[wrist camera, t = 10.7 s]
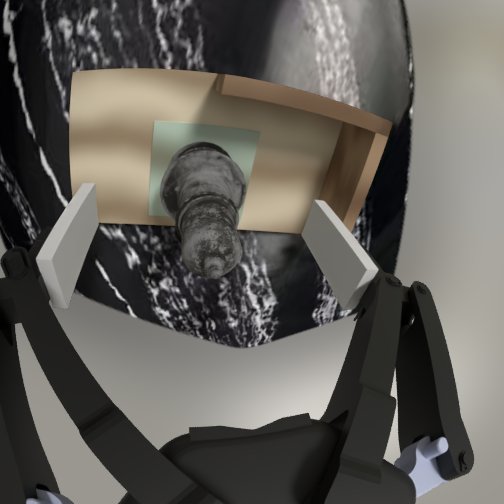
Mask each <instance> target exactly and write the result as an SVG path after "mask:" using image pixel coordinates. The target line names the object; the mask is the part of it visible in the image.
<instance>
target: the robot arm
mask: <svg viewBox="0 0 504 504" xmlns="http://www.w3.org/2000/svg"><path fill="white" fill-rule="evenodd" d="M98 225H99V223H98V213H97V201H96V186H95V183H83V184H82V186H81V187H80V188H79V190H78V191H77V193H76V194H75V195H74V197H73V198H72V200H71V201H70V203H69V204H68V206H67V207H66V209H65V210H64V212H63V213H62V215H61V216H60V218H59V219H58V221H57V223H56V224H55V226H54V227H46V228H45V229H44V230H43V231H42V232H40V234H39V236H38V237H37V239H36V241H35V242H34V244H33V246H32V247H31V249H30V251H29V252H28V253H27V250H26V249H25V248H23V247H14V248H11V249H10V250H8V251H6V252H5V254H4V255H3V256H2V258H1V263H0V264H1V266H2V269H3V271H4V273H5V276H6V277H5V278H0V504H74V503H73V502H72V501H71V500H69V499H68V498H67V497H65V496H63V495H61V494H60V491H59V488H58V485H57V482H56V479H55V477H54V474H53V472H52V469H51V467H50V464H49V462H48V460H47V457H46V455H45V452H44V450H43V447H42V444H41V442H40V439H39V436H38V433H37V431H36V427H35V424H34V421H33V417H32V414H31V411H30V407H29V404H28V400H27V396H26V391H25V387H24V383H23V378H22V374H21V368H20V362H19V356H18V349H17V341H16V334H15V324H17V323H22V326H23V328H24V330H25V333H26V335H27V338H28V340H29V342H30V345H31V347H32V349H33V351H34V353H35V355H36V358H37V360H38V362H39V364H40V366H41V368H42V369H43V371H44V373H45V375H46V377H47V379H48V381H49V383H50V385H51V386H52V388H53V390H54V392H55V393H56V395H57V397H58V398H59V400H60V401H61V403H62V405H63V406H64V408H65V409H66V411H67V413H68V414H69V416H70V417H71V419H72V420H73V422H74V423H75V425H76V426H77V428H78V429H79V432H80V435H81V436H82V438H83V440H84V441H85V443H86V444H87V445H88V447H89V448H90V449H91V450H92V452H93V453H94V454H95V456H96V457H97V458H98V459H99V460H100V462H101V463H102V464H103V465H104V466H105V467H106V469H107V470H108V471H109V472H110V473H111V474H112V475H113V476H114V478H115V479H116V480H117V481H118V482H119V483H120V484H121V485H122V486H123V487H124V488H125V489H126V490H127V491H128V492H127V493H126V494H125V496H124V497H123V498H122V499H121V501H120V502H119V503H118V504H415V502H416V498H417V497H419V496H421V495H422V494H424V493H426V492H428V491H429V490H431V489H433V488H434V487H436V486H438V485H440V484H443V483H445V482H448V481H451V480H453V479H455V478H458V477H460V476H463V475H465V474H467V473H469V472H470V470H471V469H472V467H473V464H474V454H473V450H472V447H471V445H470V441H469V438H468V435H467V432H466V429H465V427H464V424H463V421H462V418H461V414H460V407H459V401H458V395H457V389H456V383H455V378H454V374H453V369H452V364H451V360H450V356H449V352H448V348H447V344H446V340H445V336H444V333H443V329H442V326H441V322H440V319H439V316H438V313H437V310H436V306H435V303H434V300H433V298H432V295H431V292H430V290H429V289H428V288H427V286H426V285H424V284H423V283H421V282H418V281H415V282H413V284H412V285H411V287H410V288H409V287H406V286H402V283H401V281H400V280H399V279H398V278H397V277H395V276H394V275H392V274H389V273H384V272H383V270H382V269H381V267H380V266H379V265H378V263H377V262H376V261H375V259H373V257H372V256H371V254H370V253H369V252H368V250H367V249H366V248H365V247H364V246H363V245H362V244H361V243H359V242H357V240H356V239H355V238H354V236H353V235H352V234H351V233H350V231H349V230H348V229H347V228H346V226H345V225H344V224H343V223H342V221H341V220H340V219H339V218H338V217H337V215H336V214H335V213H334V212H333V211H332V209H331V208H330V207H329V206H328V205H327V203H326V202H325V201H322V200H315V199H314V201H313V204H312V207H311V210H310V213H309V215H308V218H307V221H306V224H305V227H304V229H303V232H302V237H303V239H304V241H305V242H306V244H307V246H308V247H309V249H310V251H311V253H312V254H313V256H314V258H315V260H316V261H317V263H318V265H319V267H320V269H321V270H322V272H323V274H324V276H325V278H326V279H327V281H328V283H329V285H330V287H331V288H332V290H333V292H334V294H335V296H336V298H337V299H338V301H339V303H340V305H341V307H342V309H343V310H348V309H355V307H356V306H357V304H358V303H359V301H360V302H361V303H362V305H363V306H362V308H361V309H360V311H359V312H358V314H357V315H356V317H355V318H354V321H355V320H356V319H357V322H356V326H355V329H354V332H353V336H352V339H351V342H350V345H349V348H348V352H347V355H346V358H345V361H344V364H343V367H342V369H341V372H340V375H339V378H338V381H337V383H336V386H335V389H334V391H333V394H332V397H331V399H330V402H329V404H328V407H327V409H326V412H325V413H324V415H323V416H322V417H321V419H320V420H315V419H310V416H309V413H305V414H300V415H295V416H290V417H285V418H281V419H279V420H276V421H274V422H272V423H270V424H267V425H265V426H262V427H260V428H258V429H254V430H250V429H241V428H233V427H226V426H211V427H210V426H209V427H190V428H189V433H188V434H184V435H181V436H179V437H176V438H174V439H173V440H171V441H169V442H168V443H166V444H165V445H164V446H163V447H162V448H161V449H159V450H157V449H156V448H155V447H154V446H153V445H152V444H151V443H150V442H149V441H148V440H147V439H146V438H145V437H144V436H143V435H142V433H141V432H140V431H139V430H138V429H137V428H136V427H135V426H134V425H133V424H132V423H131V421H130V420H128V418H127V417H126V416H125V415H124V413H123V412H122V411H121V410H119V408H118V407H117V406H116V405H115V404H114V403H113V402H112V401H111V399H110V398H109V397H108V396H107V394H106V393H105V392H104V391H103V389H102V388H101V387H100V385H99V384H98V382H97V381H96V380H95V378H94V377H93V376H92V374H91V373H90V371H89V370H88V368H87V367H86V366H85V364H84V363H83V361H82V360H81V358H80V356H79V355H78V353H77V352H76V350H75V349H74V347H73V345H72V344H71V342H70V341H69V339H68V337H67V336H66V334H65V332H64V330H63V329H62V327H61V325H60V324H59V322H58V320H57V318H56V316H55V314H54V312H53V310H52V309H51V306H50V305H49V300H51V302H52V305H53V307H54V308H62V309H68V307H69V304H70V301H71V298H72V294H73V291H74V288H75V285H76V282H77V279H78V276H79V273H80V270H81V268H82V265H83V262H84V260H85V257H86V254H87V252H88V249H89V247H90V244H91V242H92V239H93V237H94V234H95V232H96V230H97V227H98ZM413 319H414V321H413V324H412V320H413ZM395 369H396V382H397V399H398V436H399V446H400V452H401V456H400V458H398V459H397V460H396V461H395V464H394V465H393V464H391V463H389V462H387V461H386V460H385V459H383V457H384V454H385V451H386V447H387V443H388V439H389V435H390V431H391V427H392V423H393V418H394V414H395V409H396V399H395V398H394V397H392V396H390V393H391V388H392V382H393V377H394V371H395Z"/></svg>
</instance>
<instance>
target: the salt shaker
mask: <svg viewBox="0 0 504 504" xmlns="http://www.w3.org/2000/svg"><path fill="white" fill-rule="evenodd" d="M245 196H246V181H245V178H244V174H243V172H242V171H241V169H240V168H239V166H238V165H237V163H235V162H234V161H233V160H232V159H231V157H230V156H229V154H228V153H227V152H226V151H225V150H224V149H223V148H222V147H220V146H218V145H216V144H214V143H210V142H194V143H191V144H188V145H186V146H184V147H183V148H181V149H180V150H178V151H177V153H176V154H175V155H174V156H173V157H172V159H171V161H170V163H169V166H168V169H167V170H166V172H165V174H164V176H163V178H162V181H161V186H160V197H161V203H162V205H163V207H164V209H165V211H166V213H167V214H168V215H169V216H170V217H171V218H172V219H173V220H174V221H175V227H176V231H177V233H178V235H179V236H180V237H181V239H182V257H183V261H184V263H185V265H186V267H187V268H188V269H189V270H190V271H191V272H193V273H194V274H196V275H198V276H201V277H204V278H213V279H218V278H219V277H220V276H222V275H224V274H226V273H228V272H229V271H230V270H232V269H233V268H234V267H235V266H236V264H237V263H238V261H239V259H240V256H241V243H240V239H239V236H238V233H237V228H238V224H239V212H238V211H239V209H240V208H241V206H242V204H243V202H244V199H245Z"/></svg>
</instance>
